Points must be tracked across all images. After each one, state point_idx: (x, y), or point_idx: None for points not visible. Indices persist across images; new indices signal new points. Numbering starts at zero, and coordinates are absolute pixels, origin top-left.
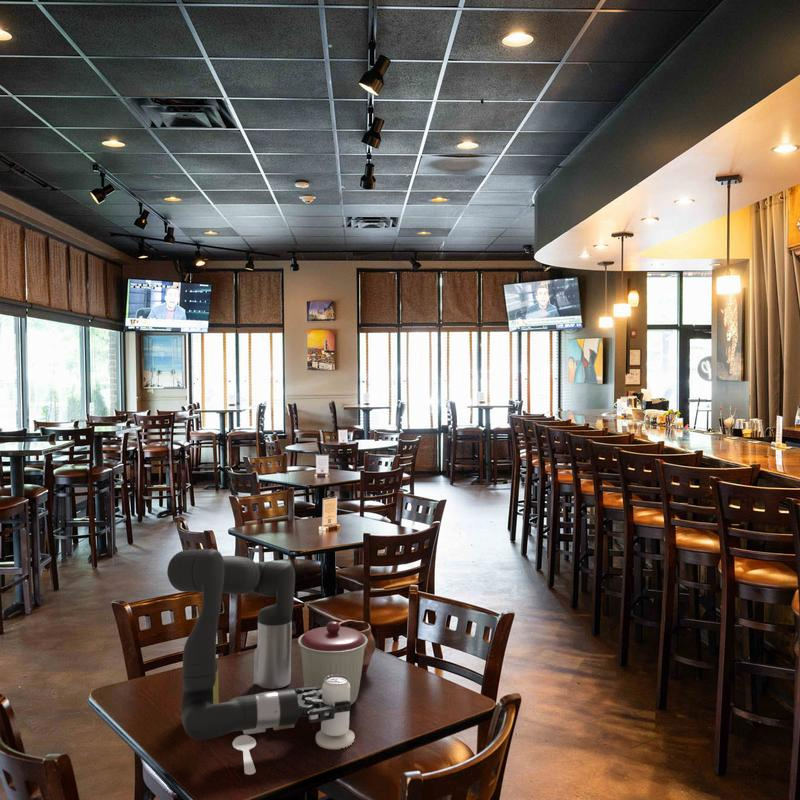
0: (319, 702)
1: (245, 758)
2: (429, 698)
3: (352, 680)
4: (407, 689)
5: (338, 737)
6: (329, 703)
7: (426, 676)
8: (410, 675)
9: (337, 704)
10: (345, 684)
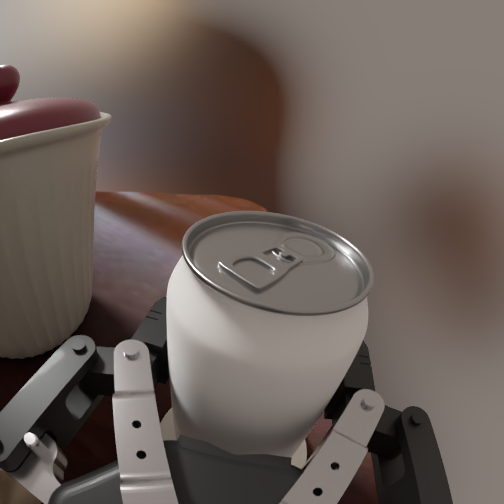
0: (352, 474)
1: None
2: (180, 220)
3: (91, 235)
4: (126, 219)
5: None
6: (363, 417)
7: (119, 195)
8: (96, 201)
9: (359, 381)
10: (346, 255)
